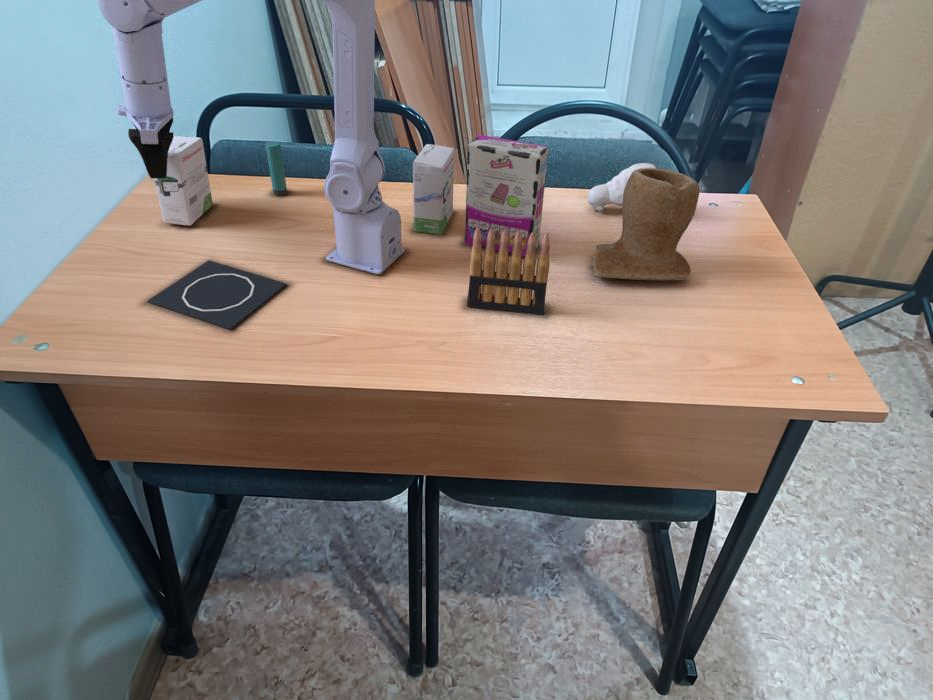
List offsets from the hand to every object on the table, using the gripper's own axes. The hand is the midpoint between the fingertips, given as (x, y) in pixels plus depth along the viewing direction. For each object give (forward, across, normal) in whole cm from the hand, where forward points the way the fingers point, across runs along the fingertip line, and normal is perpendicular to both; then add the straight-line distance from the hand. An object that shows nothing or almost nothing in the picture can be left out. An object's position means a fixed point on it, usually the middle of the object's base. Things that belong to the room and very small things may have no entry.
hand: (158, 170), depth 96 cm
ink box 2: (+6, +7, +42) cm, 43 cm away
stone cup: (+2, +30, +67) cm, 73 cm away
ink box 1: (+11, -6, +3) cm, 12 cm away
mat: (+9, +20, +7) cm, 23 cm away
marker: (+9, -10, +18) cm, 23 cm away
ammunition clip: (+4, +34, +44) cm, 55 cm away
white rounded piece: (+2, +12, +74) cm, 75 cm away
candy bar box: (+4, +17, +50) cm, 53 cm away
